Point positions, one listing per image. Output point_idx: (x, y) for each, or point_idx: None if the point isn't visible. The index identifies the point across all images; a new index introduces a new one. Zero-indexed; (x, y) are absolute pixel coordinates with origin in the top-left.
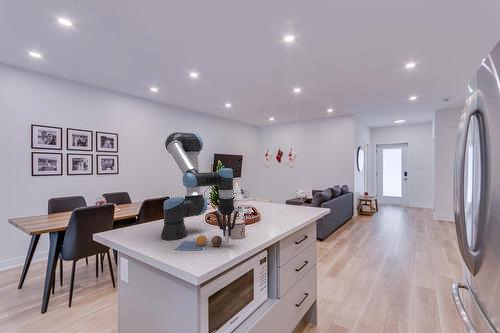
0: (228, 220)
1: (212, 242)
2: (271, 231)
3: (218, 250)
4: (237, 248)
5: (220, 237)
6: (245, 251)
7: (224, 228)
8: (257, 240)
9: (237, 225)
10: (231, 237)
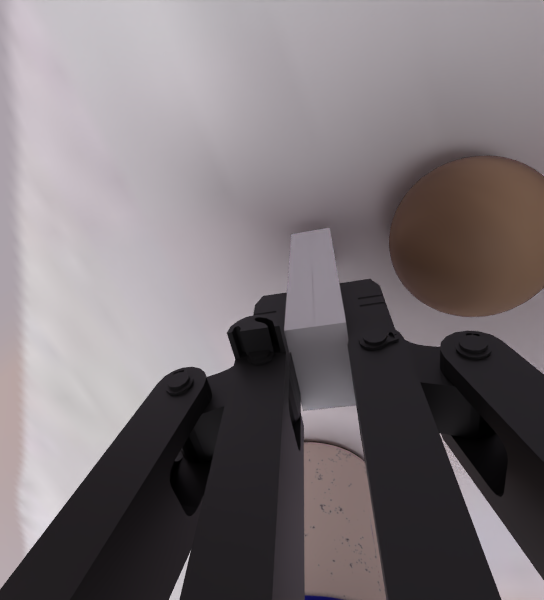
0: (238, 587)
1: (530, 167)
2: None
3: (376, 54)
4: (164, 196)
5: (425, 268)
6: (20, 116)
7: (368, 357)
8: (100, 432)
9: None
10: (355, 456)
